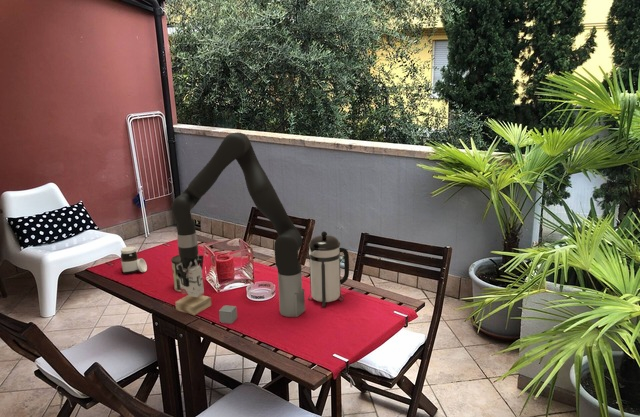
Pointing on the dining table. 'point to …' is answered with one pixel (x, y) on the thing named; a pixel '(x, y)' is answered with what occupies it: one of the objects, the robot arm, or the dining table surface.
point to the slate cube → (228, 314)
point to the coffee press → (326, 268)
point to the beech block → (193, 304)
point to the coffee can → (175, 261)
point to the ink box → (193, 282)
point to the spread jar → (132, 261)
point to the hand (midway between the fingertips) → (191, 283)
